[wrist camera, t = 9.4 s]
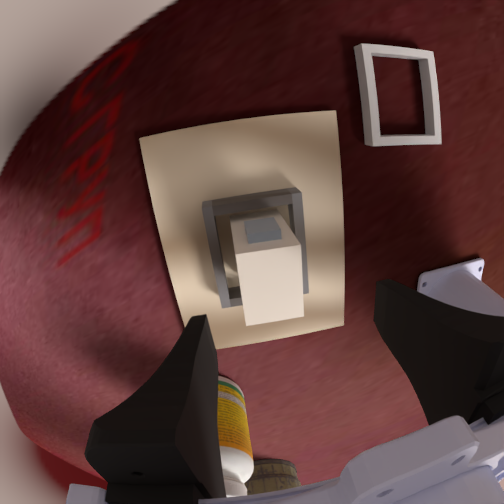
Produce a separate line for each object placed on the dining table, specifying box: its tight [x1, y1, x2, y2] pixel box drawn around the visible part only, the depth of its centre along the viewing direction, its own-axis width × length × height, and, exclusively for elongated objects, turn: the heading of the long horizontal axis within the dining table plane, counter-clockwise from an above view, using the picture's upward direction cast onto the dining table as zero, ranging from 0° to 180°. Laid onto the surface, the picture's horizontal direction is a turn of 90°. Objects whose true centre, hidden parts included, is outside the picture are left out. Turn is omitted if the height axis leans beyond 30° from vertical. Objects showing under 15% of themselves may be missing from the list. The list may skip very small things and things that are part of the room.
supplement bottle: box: [217, 376, 254, 497], centre depth 22 cm, size 6×6×11 cm
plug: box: [230, 209, 304, 326], centre depth 18 cm, size 4×3×6 cm, turn 6°
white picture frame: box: [354, 43, 441, 146], centre depth 18 cm, size 7×6×1 cm
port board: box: [139, 110, 345, 349], centre depth 21 cm, size 16×12×2 cm
